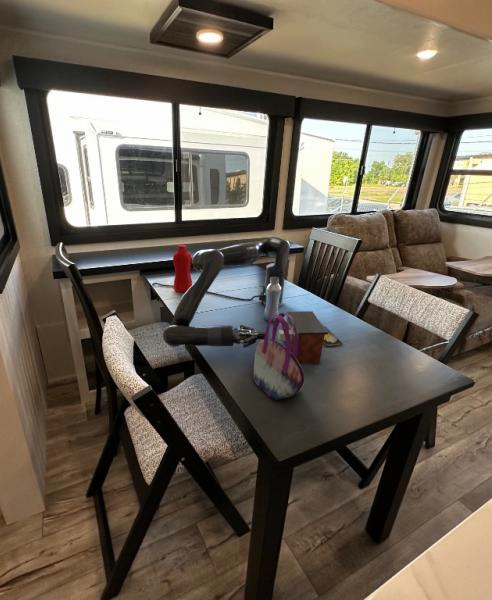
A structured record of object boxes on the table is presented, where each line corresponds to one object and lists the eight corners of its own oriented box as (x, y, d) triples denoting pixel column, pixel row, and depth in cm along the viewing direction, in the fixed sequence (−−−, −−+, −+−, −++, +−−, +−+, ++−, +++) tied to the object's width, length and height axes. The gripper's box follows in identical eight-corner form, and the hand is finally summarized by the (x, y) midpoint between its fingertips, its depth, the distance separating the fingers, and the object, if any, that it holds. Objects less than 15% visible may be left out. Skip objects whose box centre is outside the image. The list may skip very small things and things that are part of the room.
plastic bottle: (266, 315, 145) (270, 274, 137) (280, 318, 142) (284, 277, 134) (261, 320, 140) (264, 278, 132) (274, 324, 137) (279, 281, 129)
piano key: (279, 341, 113) (280, 334, 112) (277, 337, 116) (278, 329, 115) (294, 340, 113) (295, 333, 112) (292, 336, 116) (293, 329, 115)
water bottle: (192, 293, 167) (191, 248, 157) (172, 292, 169) (170, 246, 159) (196, 287, 175) (195, 244, 165) (177, 286, 177) (176, 242, 167)
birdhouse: (294, 364, 109) (298, 332, 104) (282, 340, 125) (286, 311, 119) (322, 364, 110) (328, 332, 105) (308, 339, 125) (312, 311, 120)
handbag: (243, 372, 105) (247, 304, 95) (267, 363, 109) (273, 298, 99) (285, 412, 88) (296, 336, 78) (311, 400, 93) (324, 326, 83)
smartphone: (324, 325, 135) (342, 343, 122) (324, 327, 135) (342, 344, 122) (309, 326, 134) (326, 344, 120) (309, 328, 134) (325, 346, 121)
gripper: (220, 336, 105) (271, 335, 106) (218, 318, 117) (264, 318, 118) (220, 354, 108) (269, 354, 109) (218, 335, 120) (262, 335, 121)
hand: (266, 335), depth 113 cm, fingers closed
